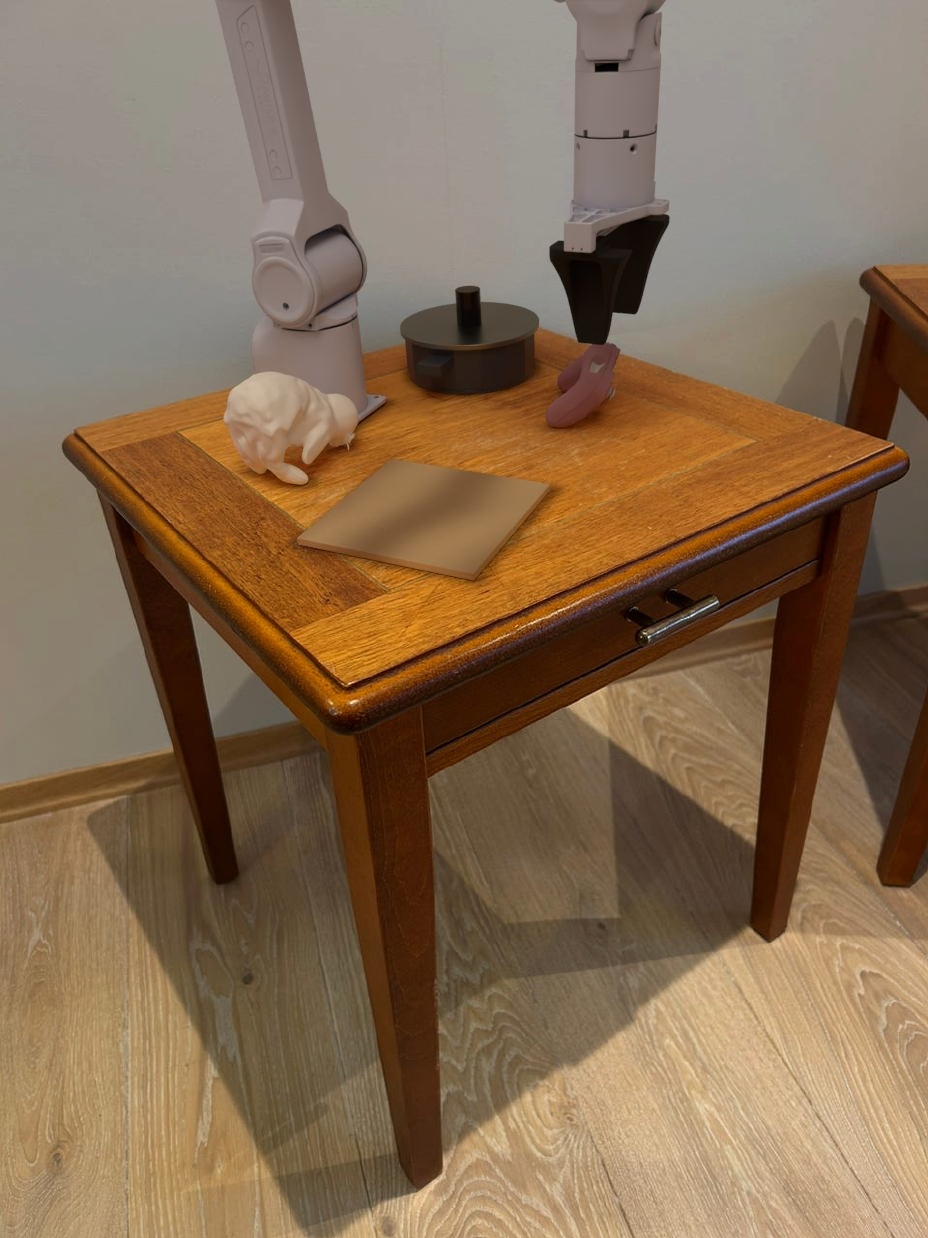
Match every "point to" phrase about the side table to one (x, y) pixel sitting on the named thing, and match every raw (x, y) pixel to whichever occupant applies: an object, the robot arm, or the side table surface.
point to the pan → (471, 367)
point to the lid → (469, 324)
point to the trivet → (427, 518)
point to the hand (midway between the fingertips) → (608, 326)
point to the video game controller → (584, 385)
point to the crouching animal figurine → (286, 422)
